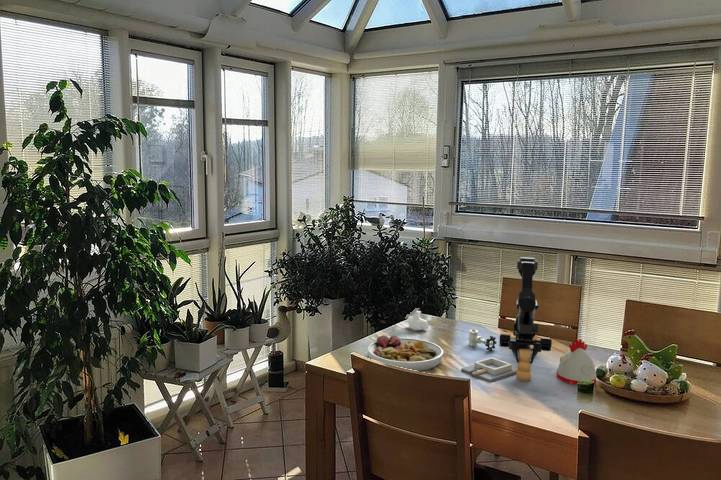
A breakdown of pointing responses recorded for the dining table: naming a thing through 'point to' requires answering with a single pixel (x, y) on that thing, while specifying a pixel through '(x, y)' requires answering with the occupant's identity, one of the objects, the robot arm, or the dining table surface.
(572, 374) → the kitchen timer
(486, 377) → the plate
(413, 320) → the duck figurine
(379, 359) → the bowl
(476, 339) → the valve
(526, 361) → the tan ribbed cylinder
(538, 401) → the dining table surface
